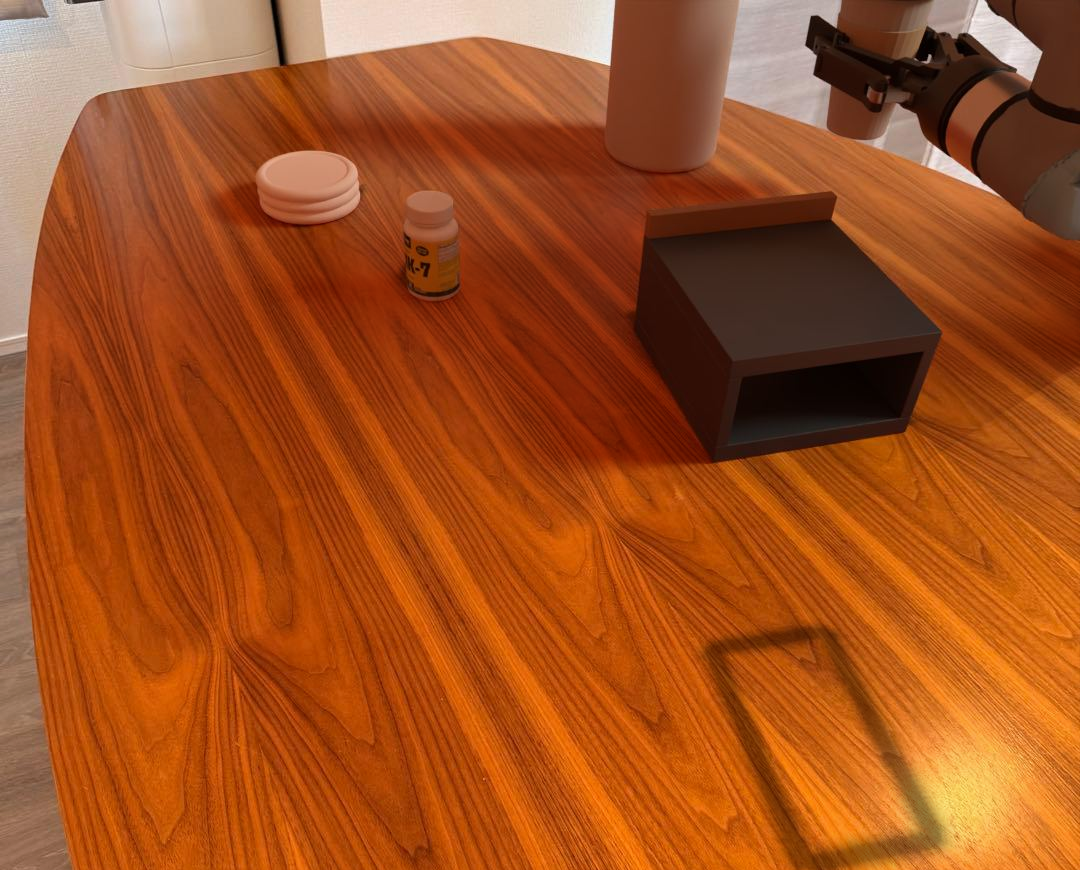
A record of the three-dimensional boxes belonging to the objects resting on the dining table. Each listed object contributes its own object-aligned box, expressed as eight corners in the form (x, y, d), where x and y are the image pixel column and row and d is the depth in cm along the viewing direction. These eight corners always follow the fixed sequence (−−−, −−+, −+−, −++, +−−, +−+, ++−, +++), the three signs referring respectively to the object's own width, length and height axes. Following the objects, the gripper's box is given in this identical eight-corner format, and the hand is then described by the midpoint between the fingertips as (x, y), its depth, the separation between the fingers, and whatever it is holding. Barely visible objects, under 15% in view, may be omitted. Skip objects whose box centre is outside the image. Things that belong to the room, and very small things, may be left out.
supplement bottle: (396, 287, 88) (389, 198, 82) (436, 270, 90) (432, 182, 84) (431, 309, 85) (425, 219, 79) (471, 290, 88) (469, 201, 82)
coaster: (245, 220, 96) (238, 186, 93) (282, 177, 103) (276, 144, 100) (342, 232, 95) (338, 197, 92) (373, 187, 102) (369, 153, 99)
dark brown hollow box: (905, 432, 75) (952, 306, 67) (712, 463, 72) (737, 335, 64) (802, 308, 87) (831, 190, 79) (633, 330, 84) (646, 209, 76)
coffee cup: (806, 141, 95) (842, -31, 85) (810, 105, 102) (845, -58, 91) (905, 152, 94) (954, -21, 83) (903, 115, 100) (949, -49, 90)
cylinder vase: (629, 120, 116) (651, -131, 98) (729, 142, 112) (772, -114, 94) (586, 160, 108) (602, -106, 90) (692, 185, 104) (731, -87, 86)
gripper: (857, 174, 81) (747, 75, 96) (1075, 150, 85) (935, 59, 100) (881, 80, 75) (760, -9, 91) (1112, 59, 79) (959, -22, 95)
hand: (852, 27), depth 95 cm, fingers closed on coffee cup, 8 cm apart
